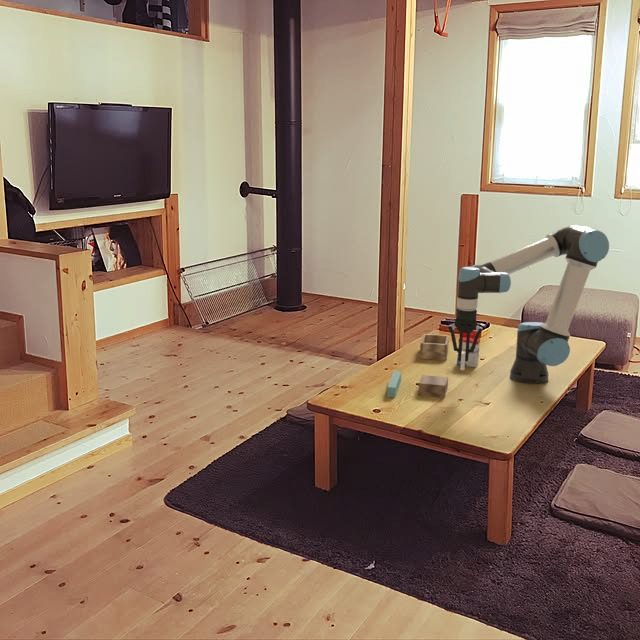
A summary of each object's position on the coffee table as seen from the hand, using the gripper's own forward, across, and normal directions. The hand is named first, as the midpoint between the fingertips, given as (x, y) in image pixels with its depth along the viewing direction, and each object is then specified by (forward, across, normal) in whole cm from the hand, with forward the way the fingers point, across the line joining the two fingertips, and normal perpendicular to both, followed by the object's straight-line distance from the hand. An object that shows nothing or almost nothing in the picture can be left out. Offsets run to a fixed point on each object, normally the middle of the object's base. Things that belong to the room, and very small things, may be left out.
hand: (462, 369), depth 298 cm
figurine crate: (+10, +14, -50) cm, 53 cm away
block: (+11, +10, 0) cm, 15 cm away
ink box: (+10, -2, -38) cm, 40 cm away
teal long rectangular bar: (+10, +26, 0) cm, 28 cm away
